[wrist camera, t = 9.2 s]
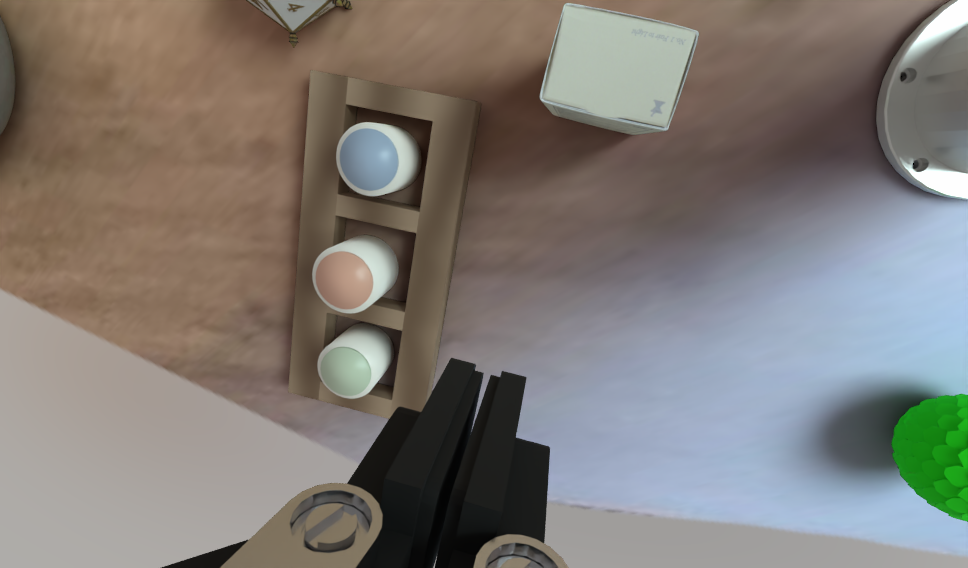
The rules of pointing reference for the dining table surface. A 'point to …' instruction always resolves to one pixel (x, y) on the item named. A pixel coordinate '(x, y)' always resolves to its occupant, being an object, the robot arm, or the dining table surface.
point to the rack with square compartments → (431, 223)
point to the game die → (296, 12)
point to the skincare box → (616, 69)
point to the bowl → (6, 78)
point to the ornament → (936, 452)
